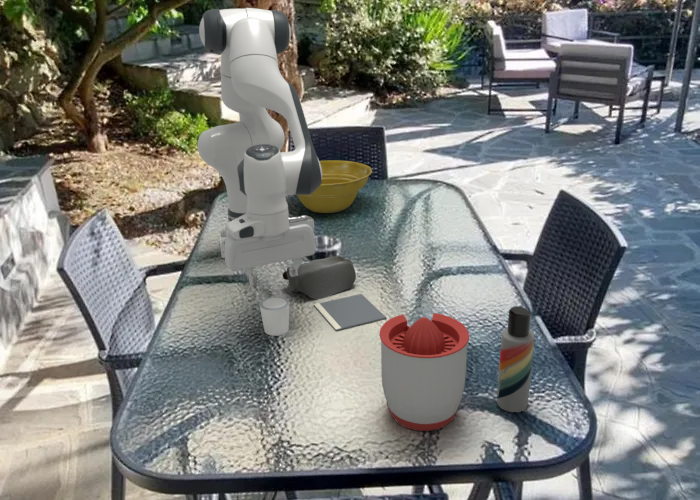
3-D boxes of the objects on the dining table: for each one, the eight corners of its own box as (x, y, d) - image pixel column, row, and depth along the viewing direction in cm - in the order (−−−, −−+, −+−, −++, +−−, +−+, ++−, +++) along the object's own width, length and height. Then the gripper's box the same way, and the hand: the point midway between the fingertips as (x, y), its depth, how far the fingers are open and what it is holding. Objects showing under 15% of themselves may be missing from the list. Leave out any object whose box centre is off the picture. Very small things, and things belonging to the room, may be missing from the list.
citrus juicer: (454, 381, 127) (458, 291, 119) (473, 438, 111) (479, 338, 103) (376, 384, 127) (375, 294, 119) (383, 442, 110) (382, 342, 103)
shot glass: (286, 338, 144) (284, 310, 141) (257, 335, 145) (255, 308, 143) (295, 323, 150) (293, 297, 148) (267, 321, 152) (265, 295, 149)
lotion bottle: (492, 396, 122) (499, 303, 114) (521, 394, 122) (530, 301, 115) (501, 414, 117) (509, 318, 109) (532, 412, 117) (541, 316, 109)
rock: (341, 271, 177) (340, 245, 174) (363, 286, 168) (362, 259, 165) (282, 288, 168) (279, 261, 165) (301, 305, 159) (300, 276, 156)
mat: (314, 305, 158) (313, 304, 158) (361, 295, 163) (361, 293, 163) (335, 331, 146) (335, 329, 146) (386, 318, 151) (386, 317, 151)
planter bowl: (271, 201, 236) (268, 166, 231) (349, 189, 248) (348, 155, 243) (302, 229, 209) (299, 189, 204) (388, 213, 221) (388, 175, 216)
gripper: (308, 209, 144) (312, 265, 149) (219, 225, 136) (226, 283, 142) (318, 217, 139) (322, 275, 144) (226, 234, 131) (233, 294, 136)
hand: (273, 279), depth 143 cm, fingers open, 8 cm apart
